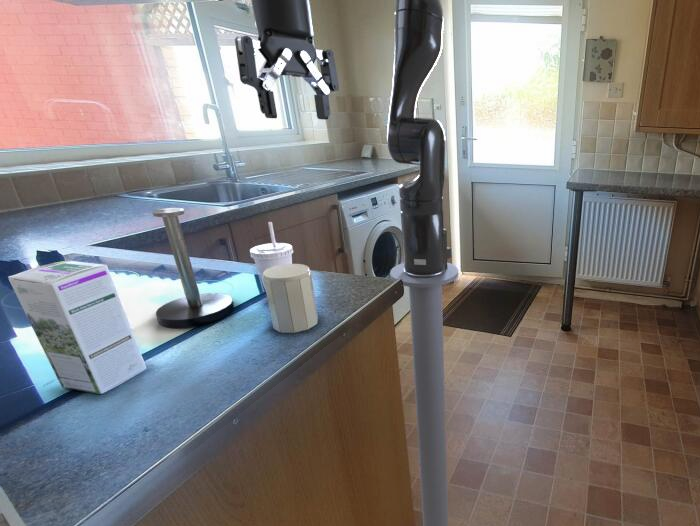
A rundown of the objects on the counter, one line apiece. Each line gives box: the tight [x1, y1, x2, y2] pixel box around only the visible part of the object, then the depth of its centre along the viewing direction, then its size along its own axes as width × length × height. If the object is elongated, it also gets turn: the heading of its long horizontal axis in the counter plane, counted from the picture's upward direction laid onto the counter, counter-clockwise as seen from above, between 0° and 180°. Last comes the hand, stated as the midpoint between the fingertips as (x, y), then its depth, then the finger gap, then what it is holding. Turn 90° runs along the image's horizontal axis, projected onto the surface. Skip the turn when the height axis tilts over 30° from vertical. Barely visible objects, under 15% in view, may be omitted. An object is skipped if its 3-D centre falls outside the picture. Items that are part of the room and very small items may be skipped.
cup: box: [263, 263, 319, 334], centre depth 63 cm, size 6×6×9 cm
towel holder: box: [152, 207, 235, 329], centre depth 63 cm, size 10×10×17 cm
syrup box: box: [7, 260, 147, 395], centre depth 47 cm, size 6×6×14 cm
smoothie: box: [249, 221, 294, 292], centre depth 70 cm, size 6×6×14 cm
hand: (298, 118), depth 65 cm, fingers open, 8 cm apart
